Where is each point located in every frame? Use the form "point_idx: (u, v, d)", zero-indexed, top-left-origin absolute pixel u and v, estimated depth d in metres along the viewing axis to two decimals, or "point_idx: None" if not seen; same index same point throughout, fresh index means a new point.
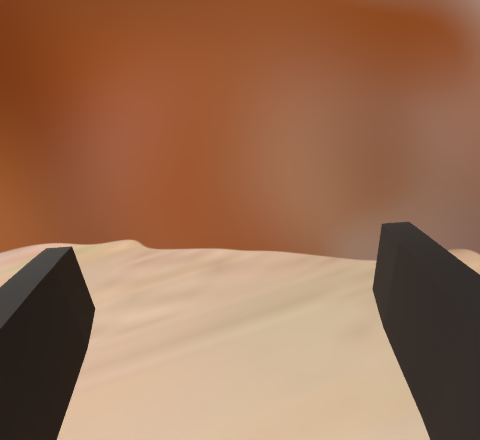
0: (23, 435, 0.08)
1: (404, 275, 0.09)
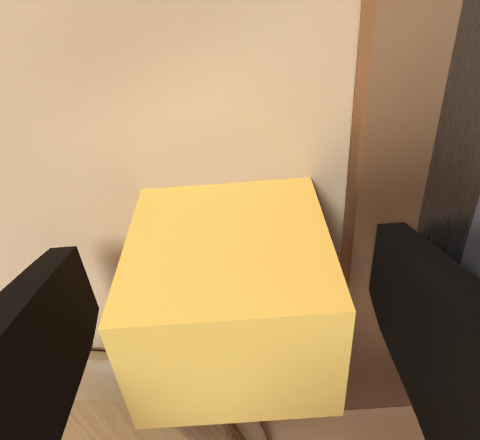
0: (28, 435, 0.08)
1: (399, 275, 0.09)
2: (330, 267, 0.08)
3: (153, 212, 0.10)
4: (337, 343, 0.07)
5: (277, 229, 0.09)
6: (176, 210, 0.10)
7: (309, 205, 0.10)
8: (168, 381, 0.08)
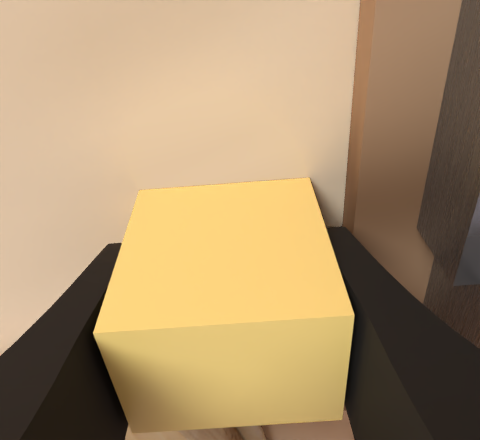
0: (103, 430, 0.08)
1: None
2: (329, 269, 0.08)
3: (150, 213, 0.10)
4: (335, 347, 0.07)
5: (275, 231, 0.09)
6: (174, 211, 0.10)
7: (308, 206, 0.09)
8: (165, 385, 0.08)
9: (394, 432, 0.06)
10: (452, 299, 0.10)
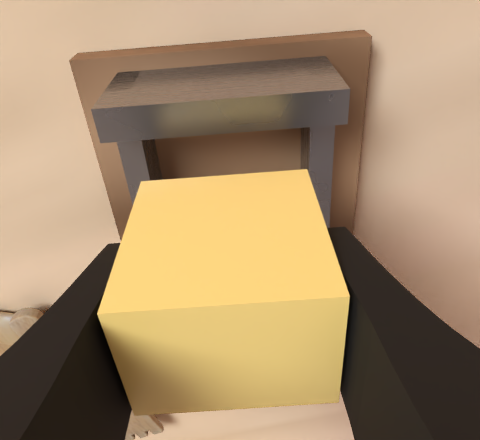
0: (103, 429, 0.08)
1: None
2: (325, 254, 0.08)
3: (152, 203, 0.10)
4: (332, 328, 0.08)
5: (273, 219, 0.09)
6: (175, 201, 0.10)
7: (305, 196, 0.10)
8: (166, 366, 0.08)
9: (394, 431, 0.06)
10: None
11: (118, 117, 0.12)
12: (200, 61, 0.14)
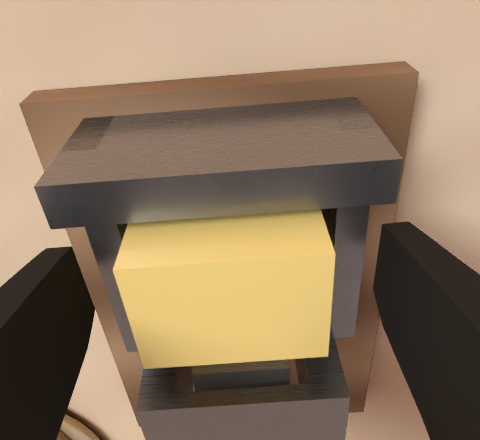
0: (23, 435, 0.08)
1: (404, 275, 0.09)
2: (315, 220, 0.09)
3: None
4: (320, 284, 0.08)
5: None
6: None
7: None
8: (173, 320, 0.09)
9: None
10: None
11: (74, 196, 0.08)
12: (192, 104, 0.11)
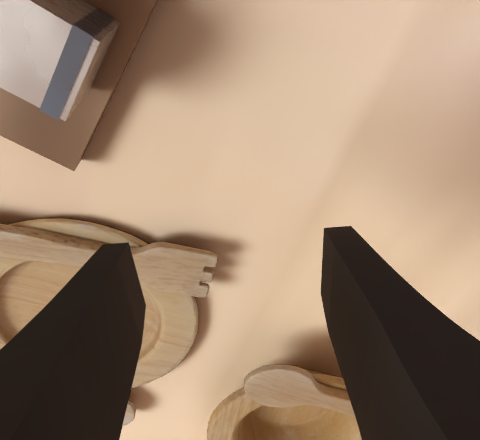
0: (96, 430, 0.08)
1: (339, 280, 0.09)
2: None
3: None
4: None
5: None
6: None
7: None
8: None
9: (403, 431, 0.06)
10: None
11: None
12: None
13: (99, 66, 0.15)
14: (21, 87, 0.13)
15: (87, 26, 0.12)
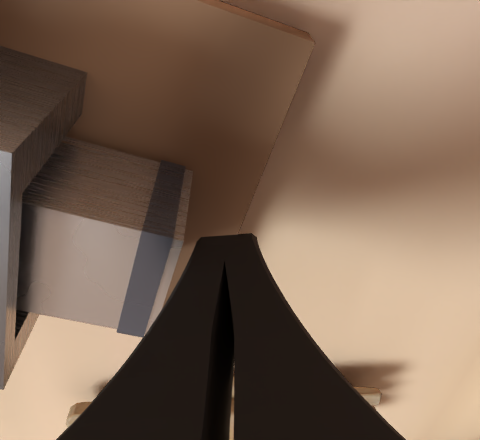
0: (223, 422, 0.08)
1: (228, 288, 0.09)
2: None
3: None
4: None
5: None
6: None
7: None
8: None
9: None
10: None
11: None
12: None
13: None
14: (87, 312, 0.09)
15: (159, 217, 0.08)
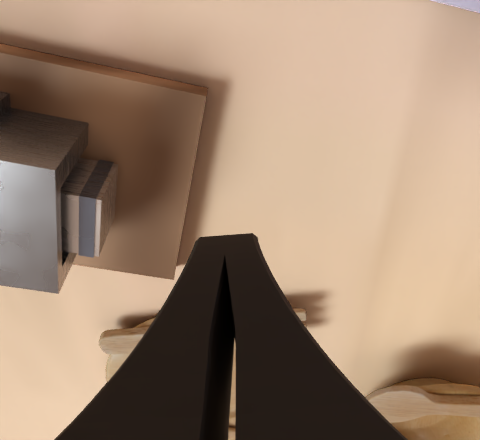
0: (221, 422, 0.08)
1: None
2: None
3: None
4: None
5: None
6: None
7: None
8: None
9: None
10: None
11: None
12: None
13: (114, 199, 0.19)
14: None
15: (90, 189, 0.16)
